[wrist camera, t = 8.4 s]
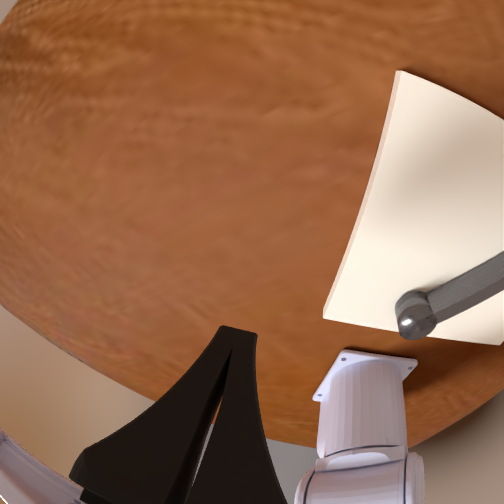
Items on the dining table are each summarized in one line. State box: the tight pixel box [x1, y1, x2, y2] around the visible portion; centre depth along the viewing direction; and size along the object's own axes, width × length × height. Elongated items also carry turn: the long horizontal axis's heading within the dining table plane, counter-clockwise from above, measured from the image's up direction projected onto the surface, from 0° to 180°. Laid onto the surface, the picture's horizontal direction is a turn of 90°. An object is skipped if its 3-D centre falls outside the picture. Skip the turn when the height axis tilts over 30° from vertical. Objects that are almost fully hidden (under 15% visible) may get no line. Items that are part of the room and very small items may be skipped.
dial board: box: [323, 71, 504, 345], centre depth 15 cm, size 17×19×1 cm
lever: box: [395, 253, 504, 340], centre depth 15 cm, size 14×3×2 cm, turn 128°
